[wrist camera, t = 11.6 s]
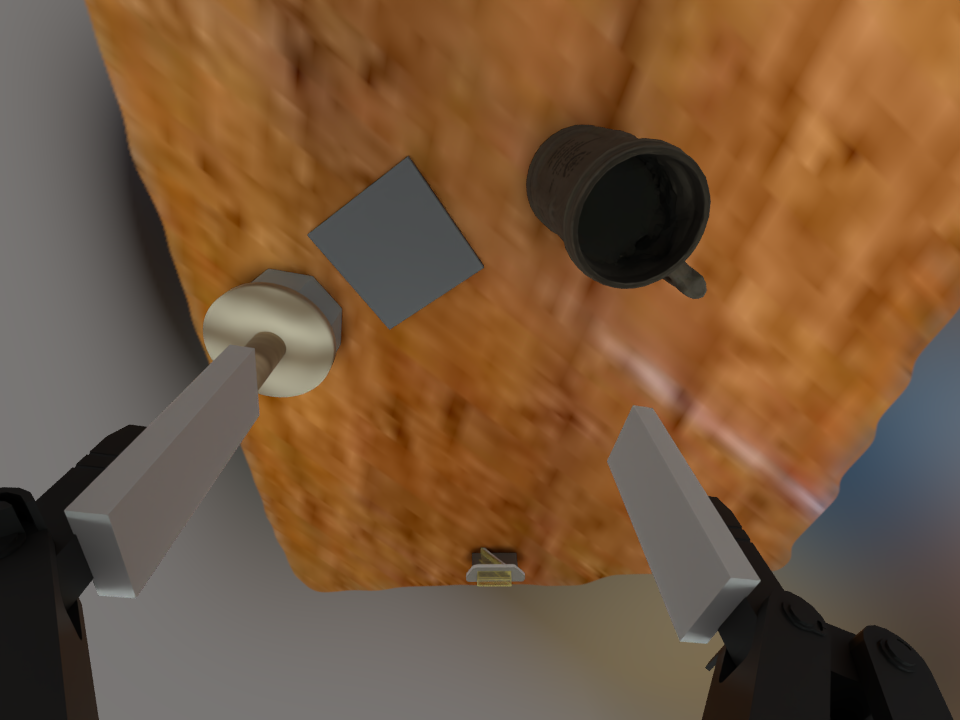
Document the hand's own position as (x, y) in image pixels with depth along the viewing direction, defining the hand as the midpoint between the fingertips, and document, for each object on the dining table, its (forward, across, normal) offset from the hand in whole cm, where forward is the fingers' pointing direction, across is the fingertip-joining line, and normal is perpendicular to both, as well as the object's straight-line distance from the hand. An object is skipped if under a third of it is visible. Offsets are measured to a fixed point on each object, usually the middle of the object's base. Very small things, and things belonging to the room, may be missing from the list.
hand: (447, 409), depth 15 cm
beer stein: (+37, +14, +4) cm, 40 cm away
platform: (+37, +16, -57) cm, 70 cm away
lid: (+31, -18, -17) cm, 40 cm away
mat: (+37, -6, -6) cm, 38 cm away
